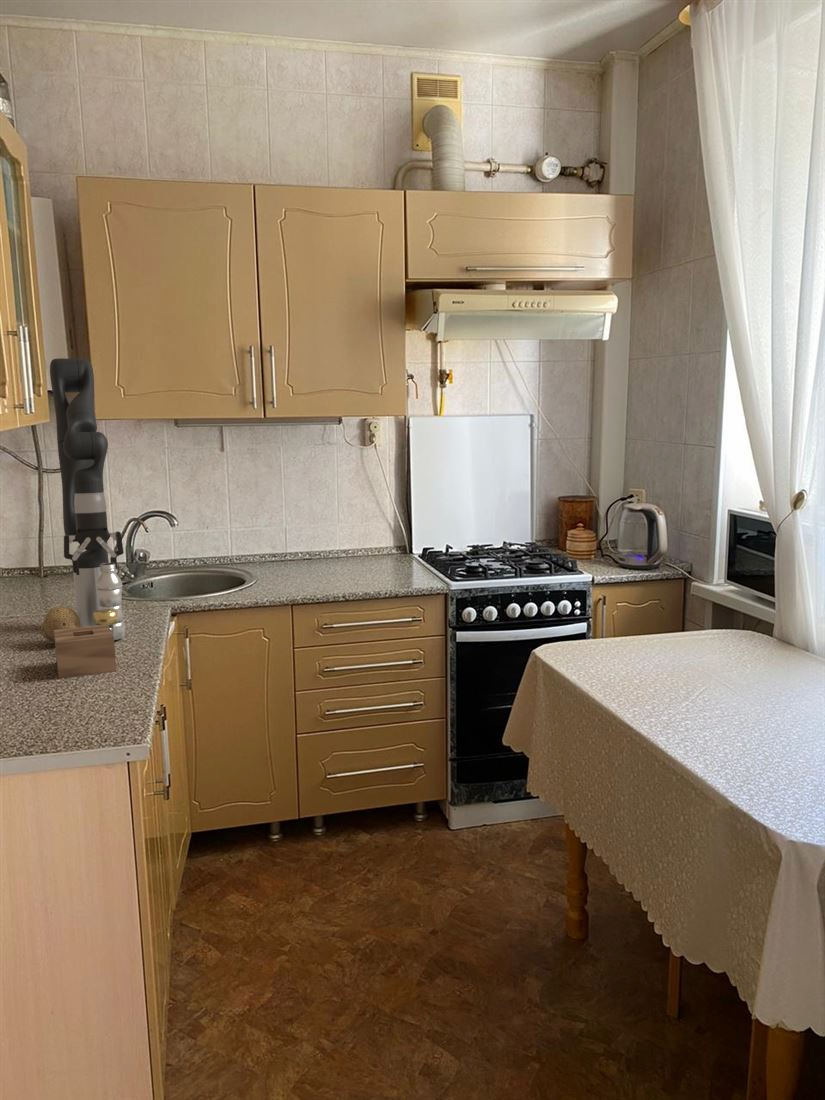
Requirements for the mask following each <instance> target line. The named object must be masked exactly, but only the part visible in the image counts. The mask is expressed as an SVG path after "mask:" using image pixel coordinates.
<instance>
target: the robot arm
mask: <svg viewBox="0 0 825 1100" xmlns="http://www.w3.org/2000/svg"><path fill="white" fill-rule="evenodd" d="M49 377H50V384H51V391H52V397H53V403H54V404H53V405H54V411H55V421H56V423H55V424H56V440H57V442H56V444H57V452H58V460H59V461H58V462H59V470H60V471H59V472H60V478H61V487H62V489H61V491H62V516H63V517H62V519H63V521H62V522H63V531H64V532H63V533H64V535H63V558H65V560H71V563H72V564H71V565H72V574H73V584H74V585H73V586H74V597H75V598H74V599H75V613H76V614H77V616H78V618H79V622H80V627H89V626H98V625H95V624H94V614H93V612H95V611H98V610H100V605H99V598H98V593H97V589H96V583H97V580H98V578H99V577H100V575H101V574H102V572H100V564H103V563H115V568H116V570H117V569H118V561H117V558H118V557H119V556H120V555H123V554H124V546H123V538H122V537H123V536H122V533H121V532H120V531H115V532H109V528H108V517H107V515H108V514H107V502H106V495H105V488H104V466H105V461H106V458H107V453H108V448H109V447H108V446H109V442H108V438H107V437H106V435H105V434H104V433H103V432H100V431H97V430H98V426H97V425H98V424H97V420H96V413H95V374H94V369H93V365H92V363H91V362H90V361H89V360H88V359H84V358H62V357H61V358H53V359H52V360H51V361H50V364H49ZM66 393H78V394H77V395H76V396H75V397H74V398H72V399H71V401H70V402H69V400H68V398H67V395H66ZM110 538H112V539H113V540H114V541H115V542H116V549H117V550H115V551H114V550H113V549H112V548H111V547H110V545H108V541H109V539H110ZM72 543H78V544H79V545H78V547H77V548H76V550H75V551H74V552H73V553H70V544H72ZM109 555H110V557H109ZM109 558H110V561H109Z"/></svg>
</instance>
